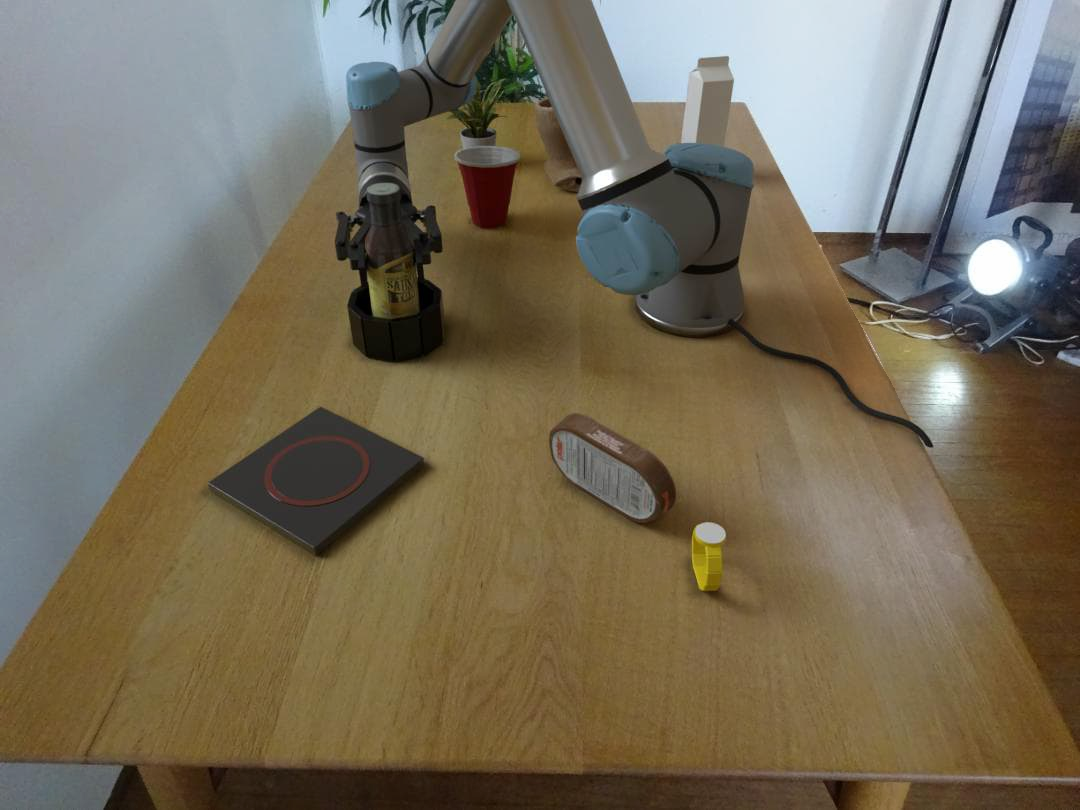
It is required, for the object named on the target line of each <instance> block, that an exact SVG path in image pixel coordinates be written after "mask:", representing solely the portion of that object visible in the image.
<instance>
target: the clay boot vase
mask: <svg viewBox="0 0 1080 810" xmlns="http://www.w3.org/2000/svg"><path fill="white" fill-rule="evenodd" d="M534 116H535V124H536V128H537V131H538V133H539V136H540V138H541V141H542V143H543V146H544V149H545V152H546V155H547V159H545V161H544V162H543V163H544V164H543V166H544V167H543V168H544V171H545V174H546V175H547V176H548V178H549V179H550V181H551V183H552V184H553V185H554V186H555V187H558V188H560V189H562V190H565V191H568V192H573V193H578V192H579V189H580V186H581V183H582V177H581V174H580V172H579V170H578V167H577V165H576V162H575V160H574V158H573V155H572V153H571V151H570V148H569V146H568V143H567V141H566V139H565V136H564V134H563V132H562V129H561V127H560V124H559V122H558V120H557V117H556V115H555V113H554V110H553V108H552V105H551V103H550V101H549V98H548V97H545V98H542V99H540V100H538V101H537V102H536V103H535V105H534Z"/></svg>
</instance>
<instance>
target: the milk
mask: <svg viewBox="0 0 1080 810" xmlns="http://www.w3.org/2000/svg"><path fill="white" fill-rule="evenodd" d="M729 63H730V56H728V55H723V56H721V55H720V56H710V57H709V56H707V57H699V58H698V59H697V64H696V65H697V66H696V67H695V68H694V69H692V70H691V71H689V73H688V80H687V88H686V89H687V90H686V98H685V104H684V105H685V108H684V114H683V115H684V116H683V123H682V131H681V139H680V143H703V144H711V145H717V146H722V147H725V143H726V136H727V129H728V123H729V117H730V110H731V102H732V96H733V89H734V83H735V78H734V75H733V73H732V71H731V68H730V66H729Z"/></svg>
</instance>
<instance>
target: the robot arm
mask: <svg viewBox="0 0 1080 810" xmlns="http://www.w3.org/2000/svg"><path fill="white" fill-rule="evenodd" d="M512 16H513V17H514V20H515V22H516V25H517V27H518V29H519V32H520V34H521V36H522V39H523V41H524V44H525V46H526V48H527V52H528V53H529V55H530V58H531V61H532V62H533V65H534V67H535V70H536V72H537V75H538V77H539V79H540V82H541V84H542V86H543V89H544V90H545V93H546V96H547V98H549V101H550V103H551V105H552V108H553V110H554V113H555V115H556V117H557V120H558V122H559V124H560V127H561V129H562V132H563V134H564V136H565V139H566V141H567V143H568V146H569V148H570V151H571V153H572V155H573V158H574V160H575V162H576V165H577V167H578V170H579V172H580V174H581V177H582V183H581V186H580V189H579V192H577V194H576V200H577V203H578V205H579V208H580V210H581V212H582V214H583V217H582V219H581V220H580V222H579V223H578V226H577V233H578V234H577V235H576V236H575V243H576V244H575V245H576V249H577V252H578V255H579V259H580V260H581V262H582V264H583V266H584V267H585V269H586V271H587V272H588V273H589V274H590V275H591V277H592V278H593V279H594V280H596V281H597V282H598V283H599V284H600V285H602V286H603V287H605V288H610V289H611V290H612V291H613V292H614V293H617V294H620V295H623V296H635V303H634V307H635V311H636V313H637V315H638V316H639V317H640V318H641V320H643V321H644V322H645V323H646V324H648V325H650V326H651V327H653V328H655V329H657V330H660V331H662V332H665V333H668V334H672V335H676V336H682V337H683V336H684V337H689V338H690V337H691V338H692V337H693V338H697V337H699V338H701V337H703V338H704V337H711V336H713V337H714V336H717V335H721V334H724V333H727V332H729V331H732V330H733V329H735V330H736V331H737V332H739V334H741V335H742V336H743V337H745V338H746V339H747V340H748V341H749V342H750V343H751V344H752V345H753V346H755V347H756V348H757V349H760V350H761V351H763V352H765V353H768V354H771V355H774V356H777V357H781V358H785V359H791V360H795V361H800V362H804V363H805V362H806V363H809V364H812V365H814V366H817V367H819V368H821V369H823V370H825V372H827V373H828V374H830V375H831V376H832V377H833V378H834V380H835V381H836V382H837V383H838V385H839V387H840V389H841V390H842V392H843V393H844V395H845V396H846V398H847V399H848V400H849V401H850V402H851V404H853V406H855V407H856V408H858V409H859V410H860V411H861V412H863V413H865V414H868V415H869V416H872V417H874V418H877V419H881V420H884V421H888V422H892V423H895V424H898V425H901V426H903V427H906V428H907V429H910V430H911V431H912V432H914V433H915V434H916V435H917V436H918V437H919V438H920V440H921V441H922V442H923V444H924V446H926V447H928V448H930V449H932V448H934V444H933V443H932V440H931V438H930V437H929V435H928V434H927V433H926V432H925V431H924V430H923V429H922V428H921V427H919V425H917V424H915V423H914V422H912V421H910V420H908V419H906V418H903V417H900V416H897V415H893V414H890V413H886V412H882V411H879V410H877V409H874V408H872V407H869V406H868V405H866V404H864V402H862V401H861V400H860V399H858V398H857V397H856V396H855V395H854V393H853V392H852V390H851V389H850V387H849V385H848V384H847V382H846V380H845V379H844V378H843V376H842V375H841V374H840V373H839V372H838V371H837V370H836V369H835V368H834V367H833V366H831V365H829V364H827V363H826V362H824V361H822V360H821V359H817V358H815V357H812V356H808V355H804V354H799V353H794V352H789V351H784V350H780V349H777V348H774V347H772V346H771V347H770V346H768V345H766V344H764V343H762V342H760V341H759V340H758V339H757V338H756V337H755V336H754V335H753V334H752V333H750V331H748V330H747V329H746V328H744V327H743V326H742V325H741V324H740V323H741V321H742V320H743V316H744V311H745V296H744V289H743V284H742V279H741V274H740V273H741V272H740V267H739V261H740V256H741V252H742V245H743V240H744V235H745V229H746V224H747V217H748V212H749V208H750V202H751V198H752V191H753V189H754V186H755V185H754V184H753V183H754V174H755V166H754V163H753V161H752V159H751V158H750V157H749V156H747V155H746V154H744V153H742V152H741V151H738V150H735V149H733V148H730V147H726V146H724V147H722V146H717V145H711V144H703V143H681V142H680V143H675V144H671V145H669V146H667V147H666V148H665V149H664V151H663V153H662V152H659V151H657V150H655V149H653V148H652V147H651V146H650V144H649V141H648V139H647V137H646V134H645V132H644V130H643V127H642V124H641V121H640V119H639V117H638V114H637V112H636V111H637V110H636V109H635V106H634V103H633V101H632V98H631V96H630V93H629V90H628V89H627V88H628V87H627V86H626V83H625V81H624V78H623V75H622V73H621V70H620V68H619V65H618V63H617V61H616V58H615V56H614V53H613V51H612V48H611V46H610V43H609V41H608V38H607V35H606V33H605V30H604V28H603V25H602V23H601V21H600V17H599V16H598V13H597V10H596V7H595V5H594V3H593V0H455V1H454V3H453V5H452V7H451V8H450V11H449V12H448V14H447V16H446V18H445V20H444V21H443V23H442V25H441V27H440V29H439V31H438V33H437V34H436V36H435V38H434V40H433V42H432V44H431V46H430V48H429V50H428V52H427V53H426V55H425V56H424V57H423V59H422V61H421V63H420V64H419V65H418V66H416V65H415V66H413V67H410V68H406V69H403V70H400V71H398V68H397V67H396V66H395V65H394V64H392V63H389V62H387V61H369V62H360V63H357V64H354V65H352V66H351V67H349V68H348V69H347V71H346V74H345V81H346V82H345V83H346V85H345V87H346V88H345V89H346V102H347V105H348V109H349V115H350V122H351V128H352V134H353V143H354V144H353V147H354V154H355V161H356V169H357V178H358V186H357V187H358V188H357V189H358V190H357V191H358V209H357V210H356V211H355V213H354V214H348V213H346V212H345V211H337V212H336V213H335V216H336V222H337V223H336V224H337V228H336V232H335V238H334V248H335V254H336V259H337V261H339V262H343V261H346V260H347V259H348V260H349V266H350V270H351V271H358V274H359V281H360V286H361V288H364V287H368V283H367V282H368V274H367V265H366V251H365V239H366V236H367V234H368V232H369V230H370V228H371V226H372V223H371V212H370V203H369V201H368V200H367V188H368V187H369V186H371V185H373V184H377V183H393V184H396V185H398V186H399V188H400V192H401V199H400V207H401V216H402V221H403V224H404V227H405V229H406V231H407V233H408V236H409V238H410V240H411V243H412V245H413V247H414V250H415V260H416V272H417V277H418V282H419V283H422V282H425V280H424V278H425V270H424V266H425V265H426V266H427V265H431V263H432V257H431V253H432V252H433V253H435V254H442V253H443V251H444V250H443V248H444V247H443V236H442V232H441V229H440V226H439V224H438V221H437V209H436V208H437V207H436V206H435V205H432V204H431V205H428V206H426V208H423V209H421V210H420V209H419V210H418V208H417V207H416V206H415V205H413V198H412V197H413V196H412V190H411V184H410V180H409V167H408V160H407V159H408V158H407V149H406V138H405V136H406V135H405V127H407V126H410V125H413V124H416V123H419V122H421V121H424V120H427V119H429V118H434V117H437V116H439V115H443V114H445V113H449V112H450V111H454V110H457V109H460V108H461V107H464V106H463V105H465V106H466V105H467V103H469V102H471V100H472V99H473V97H474V95H475V96H476V91H477V90H476V84H477V77H476V73H477V72H478V70H479V68H480V67H481V65H482V64H483V62H484V60H485V59H486V57H487V56H488V53H489V52H490V51H491V50H492V48H493V46H494V45H495V43H496V42H497V40H498V38H499V37H500V35H501V33H502V32H503V30H504V29H505V27H506V26H507V25H508V22H509V21H510V20H511V18H512ZM450 113H451V112H450ZM418 221H419V222H420V223H421V224H422V226H423V228H425V231H423V230H422V229H421V228H420V227H419V226H418V225H417V224H416V223H417V222H418ZM355 225H357V226H358V227H359V228H358V229H357V231H356V233H355V234H354V235H353V237H352V238H351V236H352V234H351V233H353V232H354V230H353V228H355Z"/></svg>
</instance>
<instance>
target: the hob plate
mask: <svg viewBox="0 0 1080 810" xmlns="http://www.w3.org/2000/svg"><path fill="white" fill-rule="evenodd" d="M424 467H425V458H424V457H423V456H421V455H419V454H417V453H415V452H413V451H411V450H409V449H407V448H405V447H403V446H401V445H399V444H397V443H396V442H393V441H391V440H389V439H387V438H385V437H383V436H381V435H379V434H377V433H375V432H373V431H372V430H369V429H366V428H365V427H363V426H361V425H359V424H357V423H355V422H353V421H351V420H348V419H347V418H344V417H343V416H341V415H338V414H336V413H335V412H333V411H331V410H328V409H326V408H324V407H322V406H318V407H317V408H316V409H315V410H313V411H311V412H310V413H309V414H308V415H306V416H304V417H303V418H301V419H300V420H298V421H296V423H294V424H292V425H290V426H289V427H288V428H286V429H285V430H283V431H282V432H280V433H279V434H278V435H276V436H274V437H273V438H272V439H269V441H268V442H265V443H264V444H263V445H262V446H260V447H258V448H257V449H255V450H254V451H253V452H251V453H249V454H248V455H246V456H245V457H244V458H242V459H241V460H239V461H237V462H236V463H235V464H233V465H231V466H230V467H228V468H227V469H225V471H223V472H221V473H220V474H218V475H217V476H215V477H214V478H212V479H211V480H210V481H208V482H207V486H208V488H209V491H210V492H211V493H213V494H214V495H216V496H217V497H219V498H221V499H222V500H224V501H226V502H227V503H229V504H231V505H232V506H234V507H236V508H237V509H239V510H240V511H242V512H244V513H245V514H247V515H249V516H250V517H252V518H253V519H255V520H257V521H258V522H259V523H261V524H264V526H266V527H268V528H270V529H271V530H273V531H275V532H276V533H278V534H280V535H281V536H282V537H284V538H286V539H288V540H289V541H291V542H293V543H294V544H296V545H297V546H298V547H301V548H302V549H303V550H305V551H307V552H308V553H310V554H312V555H313V556H315V557H317V556H318V555H319V554H321V553H322V552H323V551H324V550H325V549H327V548H328V547H329V546H330V545H332V544H333V543H334V542H335V541H336V540H337V539H339V538H340V537H341V536H342V535H344V533H346V532H347V531H348V530H350V529H351V528H352V527H353V526H354V525H355V524H357V523H358V522H359V521H360V520H361V519H362V518H364V517H365V516H366V515H368V514H369V513H370V512H371V511H372V510H373V509H375V508H376V507H377V506H378V505H379V504H380V503H382V502H383V501H385V499H387V497H389V496H390V495H391V494H393V492H395V491H396V490H397V489H398V488H399V487H401V486H402V485H403V484H405V483H406V482H407V481H408V480H409V479H410V478H411V477H412V476H414V475H415V474H416V473H418V472H419V471H420V470H421V469H422V468H424Z"/></svg>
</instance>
